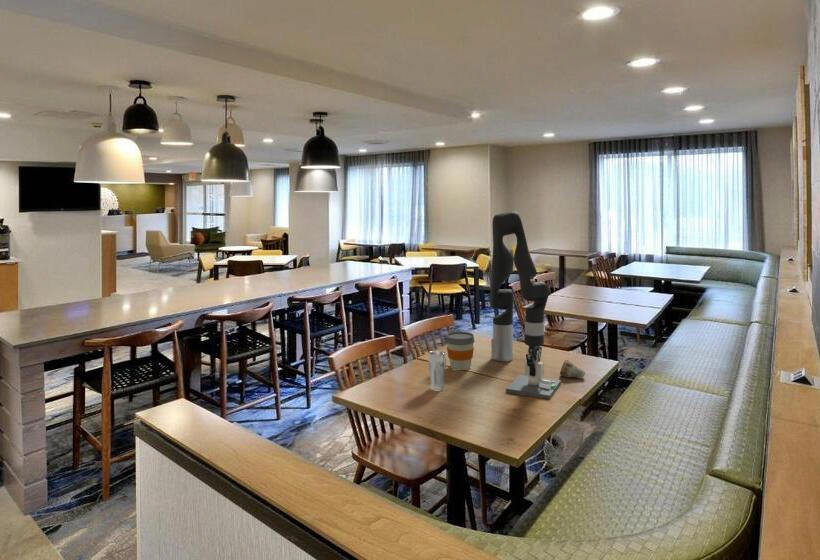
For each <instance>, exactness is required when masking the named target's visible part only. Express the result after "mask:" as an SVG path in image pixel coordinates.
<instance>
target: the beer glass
mask: <svg viewBox="0 0 820 560" xmlns="http://www.w3.org/2000/svg"><path fill="white" fill-rule="evenodd" d="M427 363H428V366H427V367H428V372H429V376H430V377H429V378H430V384H429V385H430V386H429V389H430V388H431V389H433V390H443V389H444V388H445V389H446V386H445V373H446V364H447V360H446V352H445V351H443V350H431V351H429V352H428V361H427ZM445 389H444V390H445ZM444 390H443V391H444Z"/></svg>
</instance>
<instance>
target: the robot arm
mask: <svg viewBox="0 0 820 560" xmlns="http://www.w3.org/2000/svg"><path fill="white" fill-rule="evenodd" d="M491 229H492V255H491V256H492V260H491V285H490V292H489V305H490V308H491V309H493V310H504V312H502V313H499V314H496V315H494V316H493V318H492V339H491V340H490V341H491V342H490V343H491V347H490V348H491V356H490V357H491V360H494V361H497V362H509V361H512V360H513V358H514V357H513V356H514V353H513V351H514V347H513V346H514V340H513V339H514V300H515V299H514V298H515V295H514V292H513V290H512V289H510V288H509V289H508V288H502V289H501V288H500V287H501V286H502V285H503V284H504V283H505V282H506V281H507V280H508V279H509V278H510V276H511V275H512V274H513V271H514V267H515V270H516V271H517V274H518V277H519V284H520V288H519V289H520V294H521V296H522V298H523V299H524V300H525V301H527V302H532V301H533V303H532V304H531V305H528V306H527V307H526V308H525V320H524V321H525V322H524V344H525V345H526V346H528V349H527V354H526V355H525V361H526V360H527V366H528V367H530V371H529V375H530V376H535V370H536V361H537V362H541V358H542V349H543V345H544V344H545V322H544V321H545V315H544V314H545V309H546V306H547V302H548V299H549V295H550V294H549V293H550V290H549V286H548V284H547V283H546V282H544V281H535V282H532V281H531V280H532V279H534V278H535V277H536V276H537V274H538V272H537V268H536V265H535V264H534V261H533V258H532V256H531V253H530V250H529V247H528V241H527V238H526V234H525V230H524V225H523V222H522V219H521V217H520V214H519V213H518V211H506V212H501V213H498V214H495V215H493V217H492V228H491ZM509 235H515V236H516V245H515V250H514V255H513V254H512V252H511V250H509V248H508V247H507V246H506V245H505V243H504V237H505V236H509ZM531 363H532V364H531Z"/></svg>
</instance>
